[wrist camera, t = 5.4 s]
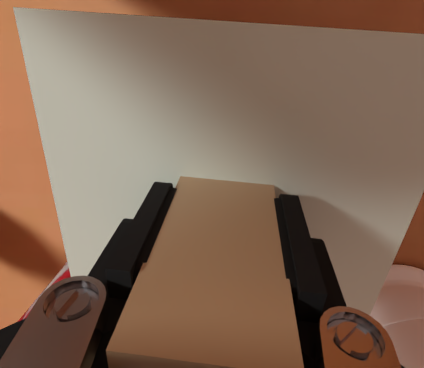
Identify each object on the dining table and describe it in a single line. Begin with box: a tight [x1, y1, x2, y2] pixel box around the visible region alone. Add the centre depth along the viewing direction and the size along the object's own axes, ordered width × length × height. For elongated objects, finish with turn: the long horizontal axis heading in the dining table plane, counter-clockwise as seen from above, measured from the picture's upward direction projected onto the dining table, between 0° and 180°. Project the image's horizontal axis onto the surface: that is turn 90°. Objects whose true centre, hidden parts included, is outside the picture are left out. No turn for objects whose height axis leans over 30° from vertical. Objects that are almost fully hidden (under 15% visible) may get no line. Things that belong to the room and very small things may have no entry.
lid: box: [13, 7, 424, 368], centre depth 8 cm, size 12×12×7 cm
